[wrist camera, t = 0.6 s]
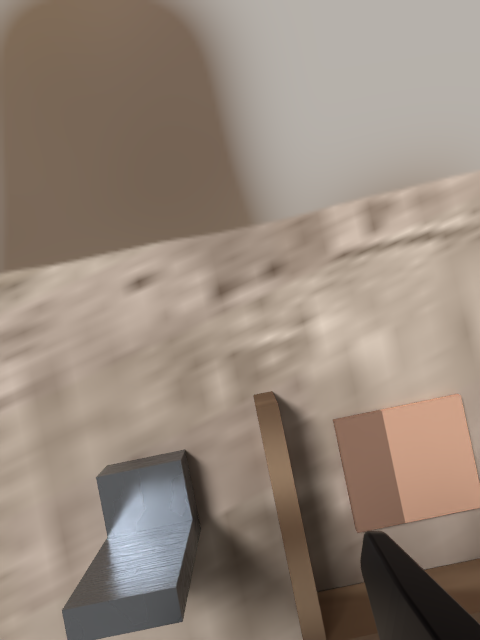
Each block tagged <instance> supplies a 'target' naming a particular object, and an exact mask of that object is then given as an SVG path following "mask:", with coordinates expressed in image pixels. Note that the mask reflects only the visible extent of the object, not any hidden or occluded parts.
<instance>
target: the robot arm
mask: <svg viewBox="0 0 480 640" xmlns="http://www.w3.org/2000/svg"><path fill="white" fill-rule="evenodd" d="M361 570H362V575H363V578H364V582H365V586H366V590H367V594H368V597H369V601H370V605H371V609H372V612H373V616H374V620H375V624H376V628H377V631H378V635H379V639H380V640H480V624H479V623H478V622H477V621H476V620H475V619H474V618H473V617H472V616H471V615H470V614H469V613H468V612H467V611H466V610H465V609H464V608H463V607H462V606H461V605H460V604H459V603H458V602H457V601H456V600H455V599H454V598H452V597H451V596H450V595H449V594H448V593H447V592H446V591H445V590H444V589H443V588H442V587H441V586H440V585H439V584H438V583H437V582H436V581H435V580H434V579H433V578H432V577H431V576H430V575H429V574H428V573H427V572H426V571H424V570H423V569H422V568H421V567H420V566H419V565H418V564H417V563H416V562H415V561H414V560H413V559H412V558H411V557H410V556H409V555H408V554H407V553H406V552H405V551H404V550H403V549H402V548H401V547H400V546H399V545H398V544H396V543H395V542H394V541H393V540H392V539H391V538H390V537H389V536H388V535H387V534H386V533H384V532H382V531H366V532H365V534H364V538H363V545H362V553H361Z"/></svg>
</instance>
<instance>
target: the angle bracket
mask: <svg viewBox="0 0 480 640" xmlns="http://www.w3.org/2000/svg"><path fill="white" fill-rule="evenodd" d="M96 479H97V484H98V490H99V495H100V500H101V505H102V510H103V515H104V520H105V526H106V531H107V536H108V537H107V539H106V541H105V542H104V544H103V545H102V547H101V549H100V550H99V552H98V553H97V555H96V557H95V558H94V560H93V561H92V563H91V565H90V566H89V568H88V569H87V571H86V573H85V574H84V576H83V577H82V579H81V581H80V582H79V584H78V585H77V587H76V589H75V590H74V592H73V593H72V595H71V597H70V598H69V600H68V601H67V603H66V605H65V606H64V608H63V610H62V613H63V619H64V624H65V629H66V634H67V639H68V640H96V639H101V638H106V637H111V636H115V635H120V634H125V633H130V632H135V631H140V630H145V629H149V628H154V627H159V626H164V625H169V624H174V623H179V622H183V618H184V612H185V607H186V602H187V597H188V592H189V587H190V581H191V576H192V571H193V566H194V561H195V556H196V551H197V545H198V540H199V535H200V530H201V527H200V522H199V517H198V512H197V507H196V502H195V497H194V492H193V487H192V482H191V477H190V472H189V466H188V461H187V456H186V451H185V450H181V451H176V452H171V453H166V454H161V455H156V456H151V457H147V458H142V459H137V460H132V461H127V462H122V463H117V464H113V465H108V466H106V467H105V468H104V469H103V471H102V472H101V473H100V474H99V475H98V476H97V477H96Z"/></svg>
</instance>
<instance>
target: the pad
mask: <svg viewBox="0 0 480 640" xmlns="http://www.w3.org/2000/svg"><path fill="white" fill-rule="evenodd" d="M333 422H334V427H335V431H336V436H337V441H338V446H339V451H340V456H341V460H342V465H343V470H344V475H345V480H346V485H347V489H348V494H349V499H350V504H351V509H352V513H353V518H354V523H355V528H356V531H357V533H360V532H365V531H370V530H374V529H379V528H384V527H389V526H394V525H399V524H403V523H408V522H413V521H418V520H423V519H428V518H432V517H437V516H442V515H447V514H452V513H457V512H461V511H466V510H471V509H476V508H480V483H479V478H478V474H477V469H476V464H475V460H474V455H473V450H472V446H471V441H470V436H469V432H468V427H467V422H466V418H465V413H464V408H463V403H462V399H461V395H459V394H455V395H450V396H445V397H440V398H435V399H431V400H426V401H421V402H416V403H411V404H406V405H401V406H397V407H392V408H387V409H382V410H377V411H372V412H367V413H362V414H358V415H353V416H348V417H343V418H338V419H333Z"/></svg>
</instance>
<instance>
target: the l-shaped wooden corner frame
mask: <svg viewBox="0 0 480 640" xmlns="http://www.w3.org/2000/svg"><path fill="white" fill-rule="evenodd" d="M254 401H255V406H256V411H257V416H258V421H259V425H260V430H261V435H262V440H263V445H264V450H265V455H266V460H267V465H268V470H269V475H270V479H271V484H272V489H273V494H274V499H275V504H276V509H277V514H278V519H279V524H280V529H281V533H282V538H283V543H284V548H285V553H286V558H287V563H288V568H289V573H290V578H291V583H292V587H293V592H294V597H295V602H296V607H297V612H298V617H299V622H300V627H301V632H302V637H303V640H380V639H379V635H378V631H377V628H376V624H375V620H374V616H373V612H372V609H371V605H370V601H369V597H368V594H367V590H366V586H365V582H364V583H359V584H355V585H350V586H345V587H340V588H335V589H331V590H326V591H321V592H317V591H316V586H315V581H314V576H313V571H312V567H311V562H310V557H309V552H308V547H307V542H306V537H305V532H304V528H303V523H302V518H301V513H300V508H299V503H298V498H297V493H296V488H295V484H294V479H293V474H292V469H291V464H290V459H289V454H288V449H287V445H286V440H285V435H284V430H283V425H282V420H281V415H280V410H279V405H278V402H277V400H276V398H275V396H274V394H273V392H272V391H271V392H266V393H261V394H257V395H254ZM424 571H426V572H427V573H428V574H429V575H430V576H431V577H432V578H433V579H434V580H435V581H436V582H437V583H438V584H439V585H440V586H441V587H442V588H443V589H444V590H445V591H446V592H447V593H448V594H449V595H450V596H451V597H452V598H454V599H455V600H456V601H457V602H458V603H459V604H460V605H461V606H462V607H463V608H464V609H465V610H466V611H467V612H468V613H469V614H470V615H471V616H472V617H473V618H474V619H475V620H476V621H477V622H478V623H479V624H480V559H475V560H470V561H465V562H461V563H456V564H451V565H446V566H441V567H437V568H432V569H427V570H424Z"/></svg>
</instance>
